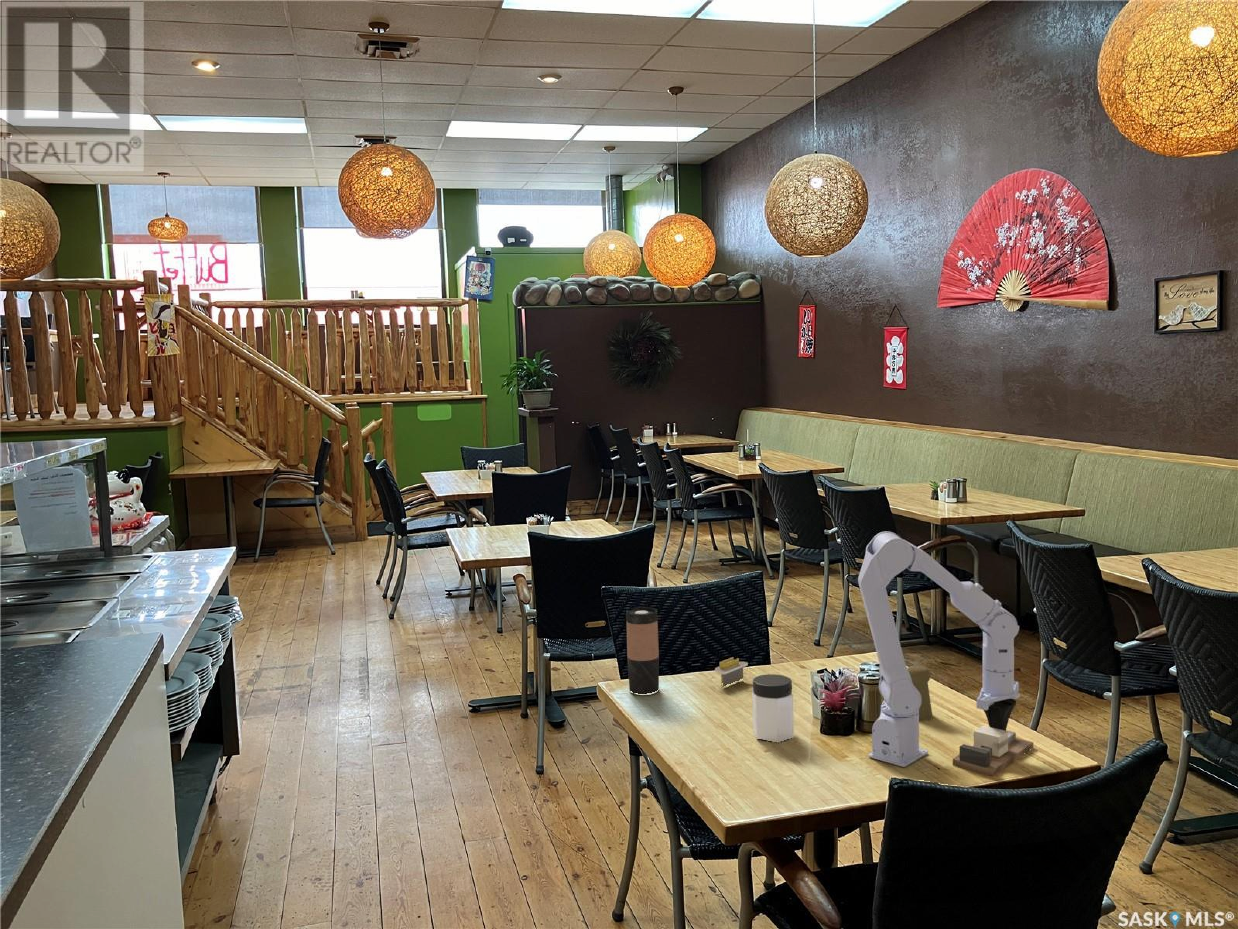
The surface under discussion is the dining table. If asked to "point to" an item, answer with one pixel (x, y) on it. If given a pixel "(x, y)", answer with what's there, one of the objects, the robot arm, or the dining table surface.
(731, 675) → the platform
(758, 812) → the dining table surface
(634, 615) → the travel mug
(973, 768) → the rail board
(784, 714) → the jar
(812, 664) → the dining table surface
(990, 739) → the slider
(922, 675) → the cork
